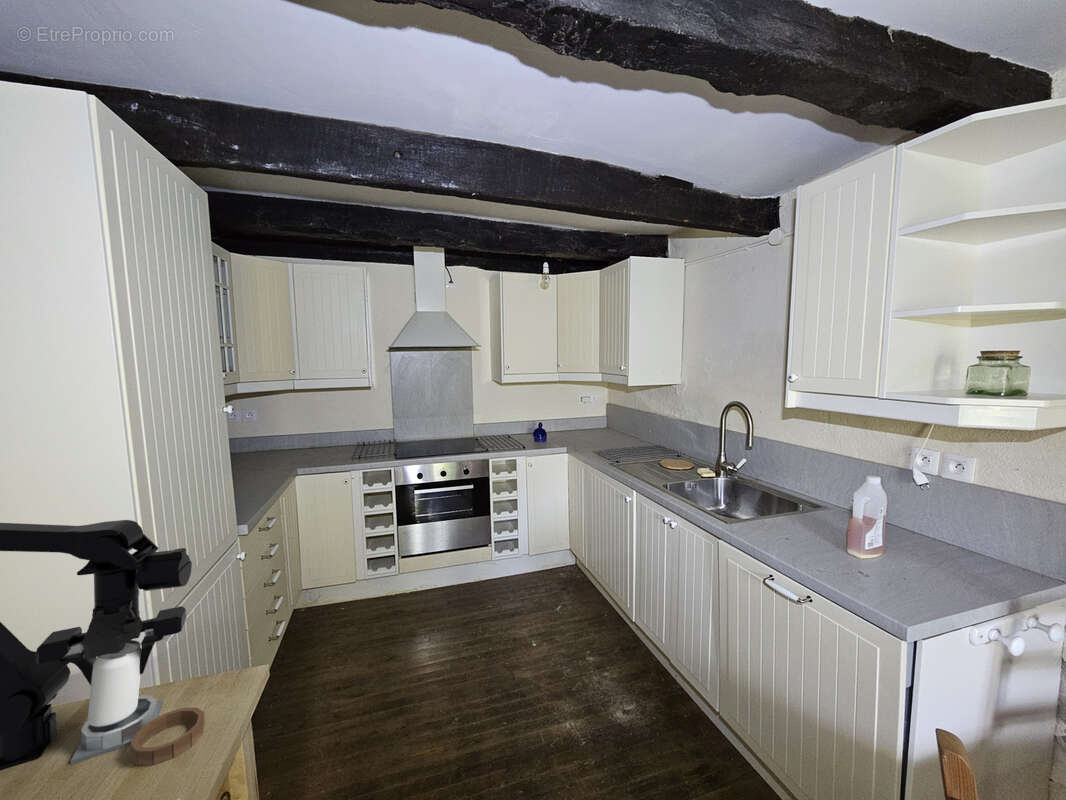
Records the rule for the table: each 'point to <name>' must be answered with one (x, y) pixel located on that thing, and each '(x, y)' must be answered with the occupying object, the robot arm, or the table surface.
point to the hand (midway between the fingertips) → (118, 678)
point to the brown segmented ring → (172, 748)
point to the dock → (116, 731)
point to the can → (115, 686)
